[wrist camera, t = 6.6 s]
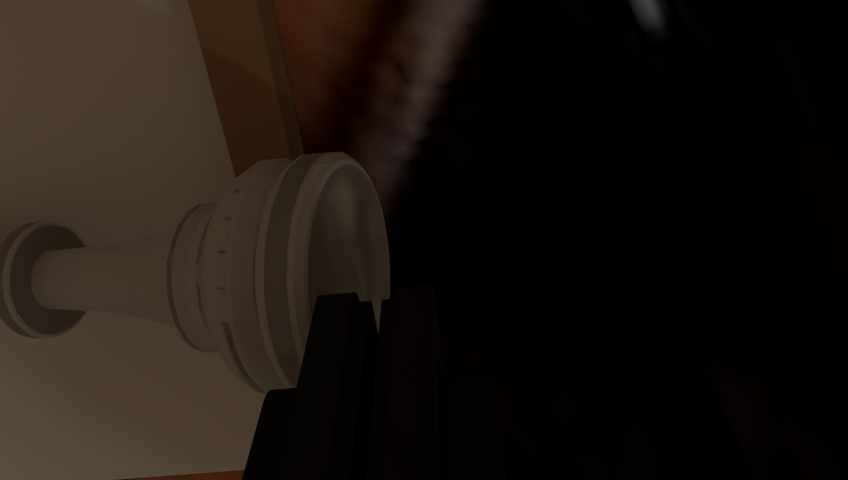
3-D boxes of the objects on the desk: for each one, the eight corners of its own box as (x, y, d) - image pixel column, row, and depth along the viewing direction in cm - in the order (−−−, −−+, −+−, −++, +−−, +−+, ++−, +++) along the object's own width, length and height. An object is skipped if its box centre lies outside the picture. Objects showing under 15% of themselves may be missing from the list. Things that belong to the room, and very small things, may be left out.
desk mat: (222, -233, 12) (203, -238, 11) (366, 447, 20) (362, 481, 19) (-457, -144, 13) (-535, -140, 12) (-52, 478, 21) (-77, 513, 20)
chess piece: (325, 453, 11) (-150, 427, 14) (402, 336, 15) (22, 333, 18) (281, 181, 10) (-230, 209, 13) (376, 132, 14) (-27, 161, 17)
